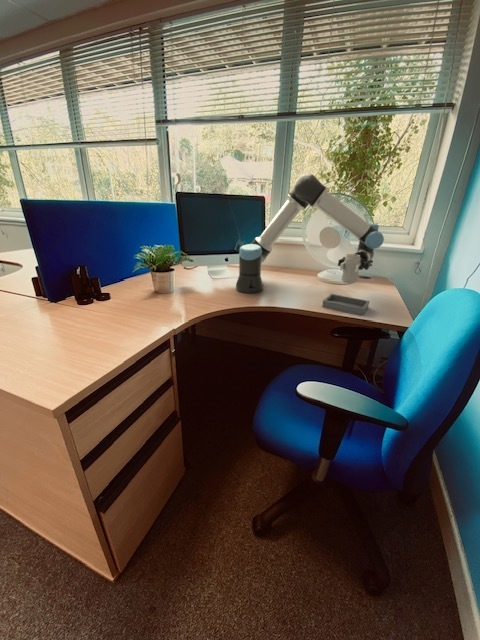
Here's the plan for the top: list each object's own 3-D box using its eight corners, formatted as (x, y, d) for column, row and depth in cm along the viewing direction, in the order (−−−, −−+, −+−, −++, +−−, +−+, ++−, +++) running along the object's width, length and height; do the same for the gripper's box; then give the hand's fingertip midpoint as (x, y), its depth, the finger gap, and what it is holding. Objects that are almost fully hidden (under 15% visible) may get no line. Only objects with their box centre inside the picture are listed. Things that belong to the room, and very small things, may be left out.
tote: (322, 306, 124) (323, 300, 122) (329, 299, 133) (331, 293, 131) (362, 315, 114) (364, 309, 113) (368, 307, 123) (369, 301, 122)
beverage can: (357, 284, 116) (362, 256, 111) (342, 283, 117) (346, 256, 112) (354, 280, 121) (359, 253, 116) (340, 279, 122) (344, 253, 117)
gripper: (379, 269, 126) (369, 280, 109) (339, 264, 136) (325, 273, 118) (382, 253, 123) (373, 262, 106) (342, 249, 133) (328, 256, 115)
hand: (348, 268), depth 112 cm, fingers closed on beverage can, 5 cm apart
